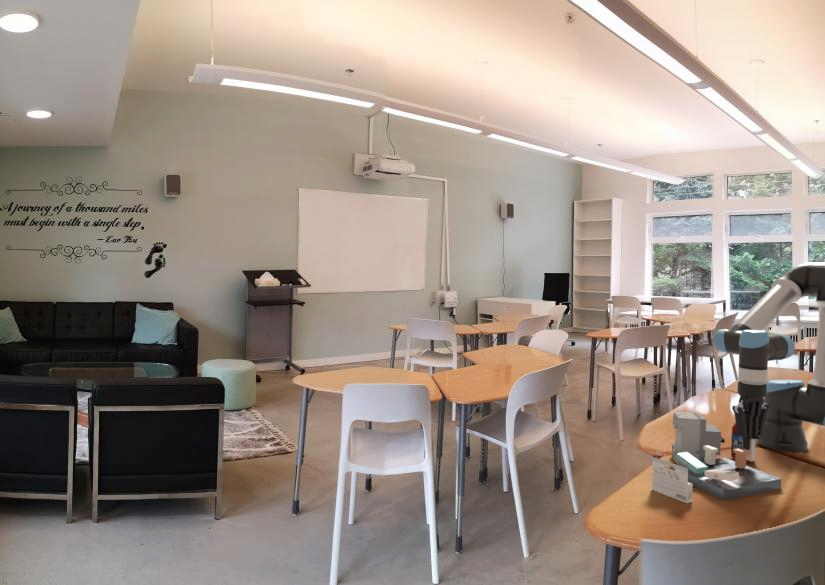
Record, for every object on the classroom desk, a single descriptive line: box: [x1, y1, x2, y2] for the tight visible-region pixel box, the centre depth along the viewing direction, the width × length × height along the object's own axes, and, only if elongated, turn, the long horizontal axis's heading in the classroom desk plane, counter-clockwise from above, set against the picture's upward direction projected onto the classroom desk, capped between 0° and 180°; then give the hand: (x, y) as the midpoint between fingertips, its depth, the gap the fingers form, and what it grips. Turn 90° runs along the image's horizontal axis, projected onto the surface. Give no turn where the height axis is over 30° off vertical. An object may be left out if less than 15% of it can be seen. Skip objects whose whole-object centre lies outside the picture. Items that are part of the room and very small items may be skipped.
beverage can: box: [730, 421, 752, 464], centre depth 191 cm, size 7×7×12 cm
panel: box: [669, 457, 782, 501], centre depth 172 cm, size 22×20×3 cm
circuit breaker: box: [671, 411, 726, 465], centre depth 189 cm, size 8×14×15 cm, turn 78°
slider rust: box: [733, 449, 749, 469], centre depth 175 cm, size 2×4×5 cm, turn 21°
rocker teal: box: [676, 452, 708, 474], centre depth 174 cm, size 5×8×2 cm, turn 21°
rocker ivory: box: [704, 469, 740, 481], centre depth 164 cm, size 5×8×2 cm, turn 21°
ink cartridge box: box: [651, 456, 693, 504], centre depth 162 cm, size 2×11×10 cm, turn 32°
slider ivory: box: [703, 445, 718, 465], centre depth 178 cm, size 2×4×5 cm, turn 21°
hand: (748, 459), depth 176 cm, fingers closed
